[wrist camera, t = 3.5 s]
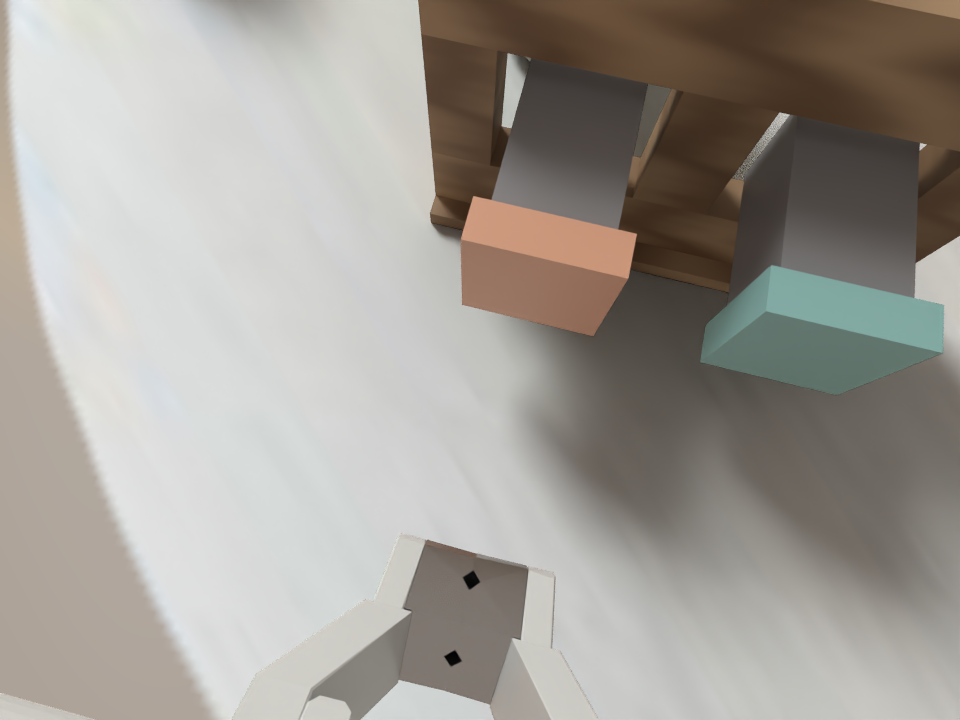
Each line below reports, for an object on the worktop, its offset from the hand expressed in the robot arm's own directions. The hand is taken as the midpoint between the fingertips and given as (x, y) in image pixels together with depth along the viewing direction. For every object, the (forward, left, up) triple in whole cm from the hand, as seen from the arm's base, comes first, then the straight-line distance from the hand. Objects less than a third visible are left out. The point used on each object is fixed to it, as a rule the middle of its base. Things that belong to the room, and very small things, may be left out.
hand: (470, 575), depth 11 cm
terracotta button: (0, -13, -9) cm, 15 cm away
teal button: (-9, -13, -9) cm, 18 cm away
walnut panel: (-5, -17, -13) cm, 22 cm away
